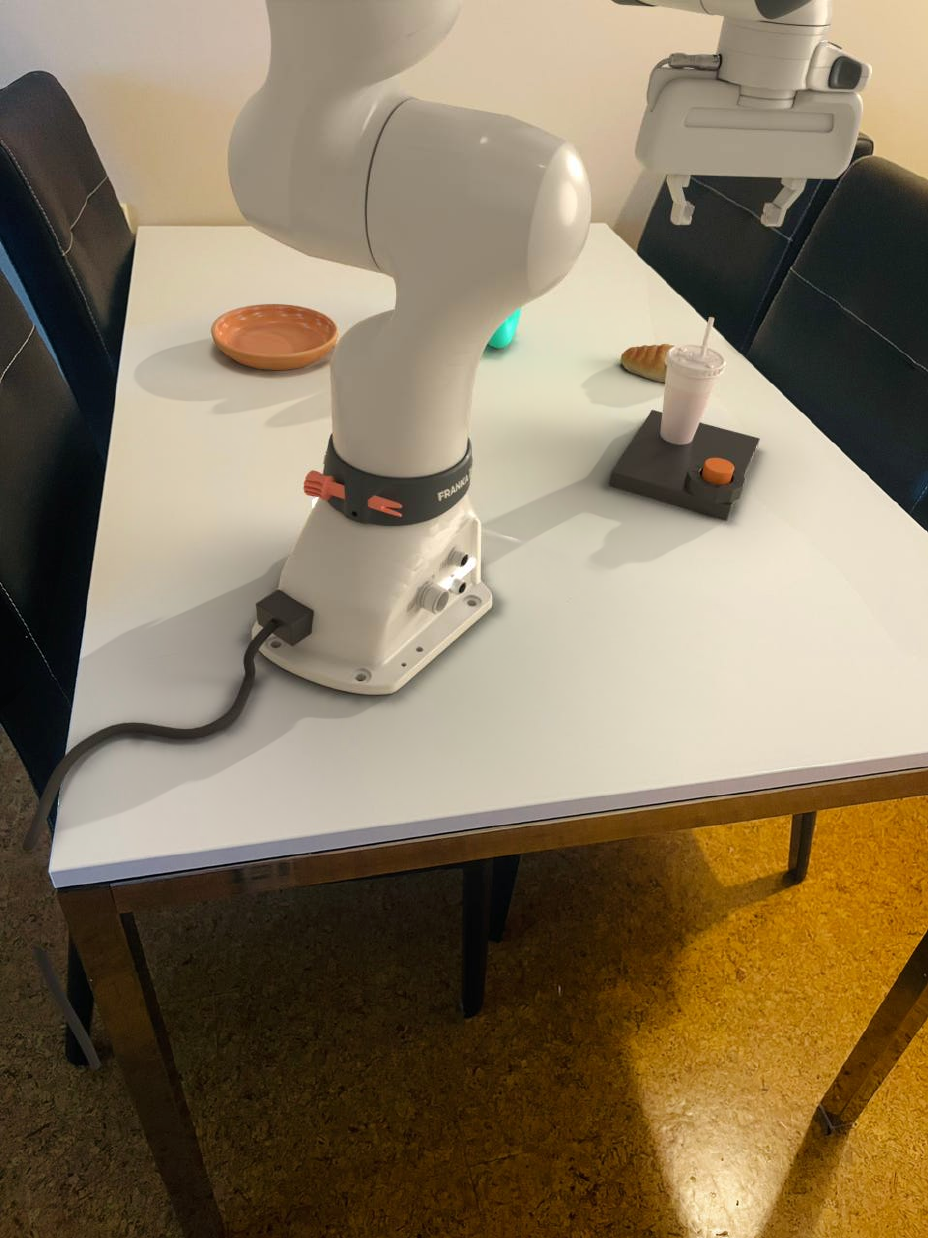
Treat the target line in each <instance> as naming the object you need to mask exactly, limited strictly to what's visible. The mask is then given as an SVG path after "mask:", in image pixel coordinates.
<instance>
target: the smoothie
mask: <svg viewBox="0 0 928 1238" xmlns="http://www.w3.org/2000/svg"><path fill="white" fill-rule="evenodd" d="M714 322H715V317H712V316H709V317H708V321H707V324H706V329H705V332H704V335H703V336H704V337H703V339H702V344H701V345H697V344H688V343H687V344H677V345H673V346H674V347H672V348H670V349H669V350H668V351H667V355H666V358H665V364H666V365H667V372H666V382H664V392H663V404H662V410H661V412H662V421H661V431H660V435H661V437H662V438H663V439H664V440H665V441H667V442H670V443H673V444H679V445H683V444H688V443H690V442H691V441H692V439H693V437H694V435H695V432H696V430H697V427H698V425H699V423H701V420H702V418H703V415H704V413H705V411H706V408H707V405H708V404H709V400H711V399H710V398H711V397H712V394H713V391H714V389H715V386H716V385H717V381H718V379H719V377H720V376H722V375H723V374H724V371H725V366H726V363H727V361H726V359H725V357H724V355H722V354H721V353H720V352H718V351H716V350H715V349H713V348H710V347H708V345H709V341H710V338H711V333H712V329H713V325H714Z"/></svg>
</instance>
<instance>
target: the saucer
mask: <svg viewBox="0 0 928 1238" xmlns="http://www.w3.org/2000/svg"><path fill="white" fill-rule="evenodd" d="M210 333H211V337H212V340H213V343H214V345H215V346H216V347H217V348H218V349H219V350H220V351H222V352H223V353H224V354H225V355H226V356H228V357H230V358H231V359H233V360H234V361H235V362H237V363H238V364H241V365H244V366H246V367H248V368H249V367H250V368H253V369H258V370H266V371H287V370H294V369H299V368H300V369H301V368H304V367H307V366H310V365H312V364H314V363H316V362H317V361H319V360H320V359H322V358H323V356H325V355H326V354H327V353H329V352H330V351H331V349H332V348H334V346H336V344H337V342H338V336H339V329H338V326H337V324H336V322H335V321H334V320H333V319H332V318H331V317H329V316H328V315H326V314H325V313H323V312H320V311H318V310H315V309H313V308H309V307H304V306H301V305H296V304H295V305H294V304H285V303H284V304H283V303H262V304H253V305H245V306H241V307H238V308H235V309H234V308H233V309H232V310H229V311H226V312H224V313H223V314H221V315H219V317H217V318H216V319H215V320H214V321H213V323H212V325H211V328H210Z"/></svg>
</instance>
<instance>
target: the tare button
mask: <svg viewBox="0 0 928 1238" xmlns="http://www.w3.org/2000/svg"><path fill="white" fill-rule="evenodd" d="M733 471H734V466H733V464H732V463H731V462H729V461H727V460H725V459H721V458H710V459H708V460H706V461H705V464H704V468H703V472H702V478H703V479H705V480H706V481H708V482H710V483H714V484H724V485H726V484H729V483H730V480H731V477H732V474H733Z"/></svg>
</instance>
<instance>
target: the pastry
mask: <svg viewBox="0 0 928 1238" xmlns="http://www.w3.org/2000/svg"><path fill="white" fill-rule="evenodd" d="M674 346H675V345H670V344H668V343H661V344H659V345H658V344H652V345H647V344H644V345H641V346H631V347H628V348H627V349H626V350H624V351H623V352H622V354H620V355H621V356H620V364H622V366H623V367H624V369H625V370H627V371H628V372H629V373H632V374H634V375H637V376H639V377H642V378H644V379H647V380H648V379H649V380H651V381H654V382H658V383H665V382H666V372H667V365H666V364H665V358H666V355H667V351H668V350H669V349H670V348H672V347H674Z"/></svg>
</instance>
